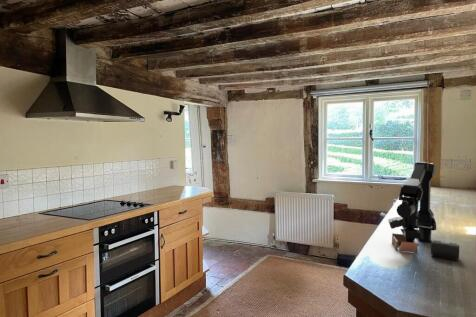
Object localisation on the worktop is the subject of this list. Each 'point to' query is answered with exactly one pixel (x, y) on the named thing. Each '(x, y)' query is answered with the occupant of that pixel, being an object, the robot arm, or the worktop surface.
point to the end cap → (445, 250)
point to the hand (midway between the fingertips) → (408, 247)
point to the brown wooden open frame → (399, 240)
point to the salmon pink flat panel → (408, 247)
